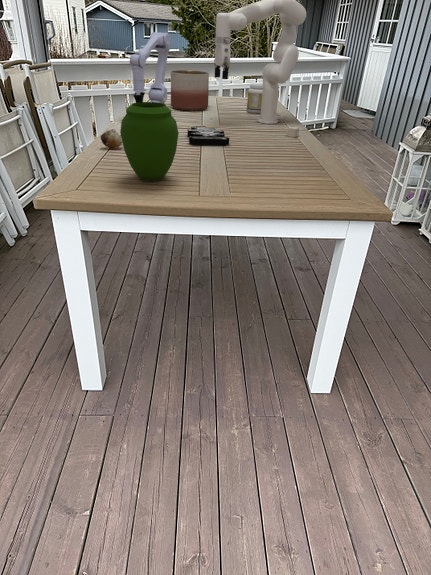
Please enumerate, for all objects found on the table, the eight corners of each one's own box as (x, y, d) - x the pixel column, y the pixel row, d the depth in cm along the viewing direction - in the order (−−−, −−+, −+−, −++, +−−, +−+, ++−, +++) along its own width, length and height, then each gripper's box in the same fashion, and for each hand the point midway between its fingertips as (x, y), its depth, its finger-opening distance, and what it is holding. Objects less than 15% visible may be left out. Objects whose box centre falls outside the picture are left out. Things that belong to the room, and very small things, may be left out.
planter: (201, 105, 293) (202, 70, 281) (212, 111, 273) (214, 74, 261) (167, 105, 285) (166, 69, 274) (175, 111, 265) (175, 73, 253)
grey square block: (294, 137, 216) (295, 129, 214) (286, 135, 219) (287, 127, 216) (298, 135, 220) (299, 127, 218) (290, 134, 222) (291, 126, 220)
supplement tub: (247, 109, 285) (249, 83, 276) (264, 111, 283) (267, 84, 274) (245, 112, 274) (248, 84, 265) (264, 114, 273) (266, 86, 264)
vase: (131, 189, 135) (125, 110, 122) (118, 172, 150) (112, 100, 137) (186, 184, 142) (187, 109, 129) (169, 168, 157) (167, 99, 144)
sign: (189, 138, 189) (185, 125, 214) (189, 145, 190) (185, 131, 216) (230, 139, 191) (221, 126, 216) (230, 145, 193) (221, 132, 218)
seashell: (124, 147, 182) (123, 128, 178) (122, 150, 177) (120, 130, 173) (103, 146, 182) (101, 127, 178) (100, 149, 177) (98, 129, 173)
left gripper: (145, 82, 213) (146, 110, 220) (146, 79, 225) (147, 105, 232) (131, 81, 212) (133, 109, 219) (133, 78, 224) (135, 105, 231)
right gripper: (236, 42, 207) (234, 80, 216) (222, 40, 220) (220, 76, 229) (223, 41, 204) (221, 80, 213) (209, 40, 217) (208, 76, 226)
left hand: (139, 107), depth 226 cm, fingers open, 7 cm apart
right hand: (221, 78), depth 221 cm, fingers open, 9 cm apart
